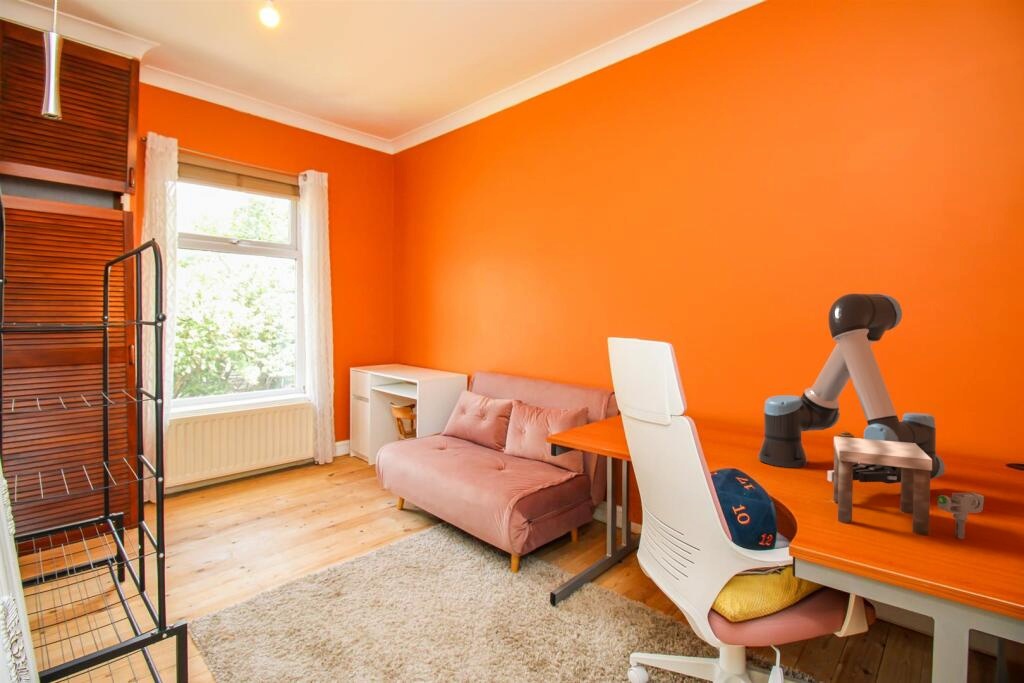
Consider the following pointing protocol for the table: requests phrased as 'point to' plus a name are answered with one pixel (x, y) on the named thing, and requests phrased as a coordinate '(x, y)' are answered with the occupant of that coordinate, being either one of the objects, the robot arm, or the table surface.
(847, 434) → the ornamental finial
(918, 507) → the stool
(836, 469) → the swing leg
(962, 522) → the mechanical component
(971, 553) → the table surface
